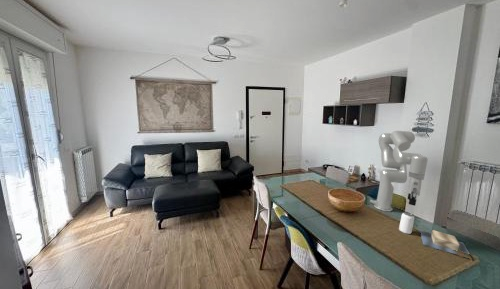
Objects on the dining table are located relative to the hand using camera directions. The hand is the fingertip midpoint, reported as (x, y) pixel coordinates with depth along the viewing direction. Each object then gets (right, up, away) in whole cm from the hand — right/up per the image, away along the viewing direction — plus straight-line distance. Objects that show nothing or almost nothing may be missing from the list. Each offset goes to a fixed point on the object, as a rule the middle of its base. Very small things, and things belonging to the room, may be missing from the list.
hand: (411, 202), depth 128 cm
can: (-1, -20, +4) cm, 20 cm away
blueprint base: (+13, -22, -8) cm, 27 cm away
